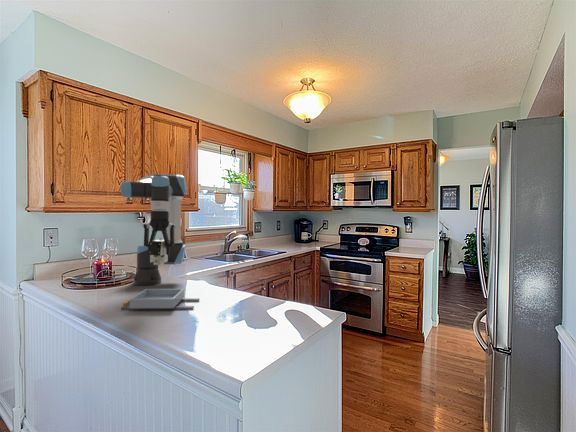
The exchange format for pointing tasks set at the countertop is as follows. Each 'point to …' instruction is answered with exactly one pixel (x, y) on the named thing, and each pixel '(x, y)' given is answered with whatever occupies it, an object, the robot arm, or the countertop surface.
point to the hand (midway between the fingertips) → (158, 261)
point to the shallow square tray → (157, 298)
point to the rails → (127, 307)
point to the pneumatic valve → (157, 250)
